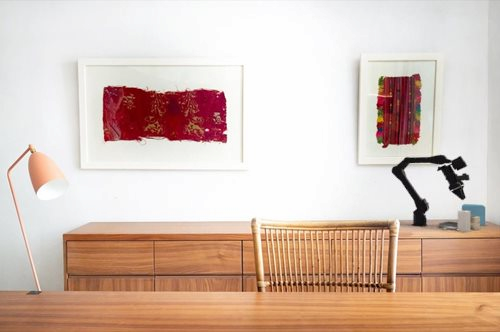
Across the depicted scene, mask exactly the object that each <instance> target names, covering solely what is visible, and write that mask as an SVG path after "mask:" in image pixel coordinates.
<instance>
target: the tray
mask: <svg viewBox="0 0 500 332" xmlns="http://www.w3.org/2000/svg"><path fill="white" fill-rule="evenodd" d="M439 225H443V226H451V227H458V221H456V222H454V221H448V220H447V221H444V222H443V221H442V222H440V223H439V222H438V226H439Z"/></svg>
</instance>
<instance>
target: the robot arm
mask: <svg viewBox="0 0 500 332" xmlns="http://www.w3.org/2000/svg"><path fill="white" fill-rule="evenodd" d="M411 164H431V165H432V164H433V165H439V166H437V169H436V171H437V172H440V171H441V172H442V175H443V176H444V178H445V180H446V181H447V184H448V190H449V191H450V192H451V193H452V194H453V195H455V196H456V197H457V198H459V199H460V200H461V201H464V200H465V199H466V198H467V197H466V195H465V191H464V188H465V183H464V181H471V180H470V174H467V172H464V173H462V175H458V174H457V173H456V172H455V171H457V172H458V171H460V170H462V169H465V168H467V167H468V165H467V162H466V160H464V158H463V157H462V156H461V155H460V156H458V157H456V158H454V159H449V158H448V157H447V156H446V155H445V154H437V155H431V156H416V157H414V156H413V157H412V156H406V157H404V158H403V159H401V161H400V162H398V163H397V165H394V166H393V167H392V168H391V173H392V175H393V176H394V177H395V178H397V180H399V181H400V183H401V184H402V185H403V187H404V188H405V189H406V191H407V193H408V194H409V196H410V197H411V198H412V200H413V202H414V206H415V208H416V209H415V210H414V211H412V213H413V214H412V215H413V216H412V217H413V219H412V224H411V226H418V227H424V226H427V225H428V223H427V215H426V214H427V212H428V211H429V209H430V205H429V204H430V203H429V202H428V200H427V199H426V198H422V197H421V196H420V195H419V193H418V192H417V190H416V189H415V188H414V186H413V185H412V183H411V182H410V180H409V179H408V177H407V174H406V172H405V169H407V168H408V166H409V165H411ZM446 164H448V165H446ZM441 165H442V166H441Z"/></svg>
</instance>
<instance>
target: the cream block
mask: <svg viewBox="0 0 500 332" xmlns="http://www.w3.org/2000/svg"><path fill="white" fill-rule="evenodd" d="M457 222H458V230H457V232H462V233H468V232H471V230H470V211H464V210H462V209H461V210H457Z"/></svg>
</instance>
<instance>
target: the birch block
mask: <svg viewBox="0 0 500 332" xmlns="http://www.w3.org/2000/svg"><path fill="white" fill-rule="evenodd" d="M480 229H481V225H480V217H477V216H470V231H479V230H480Z"/></svg>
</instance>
